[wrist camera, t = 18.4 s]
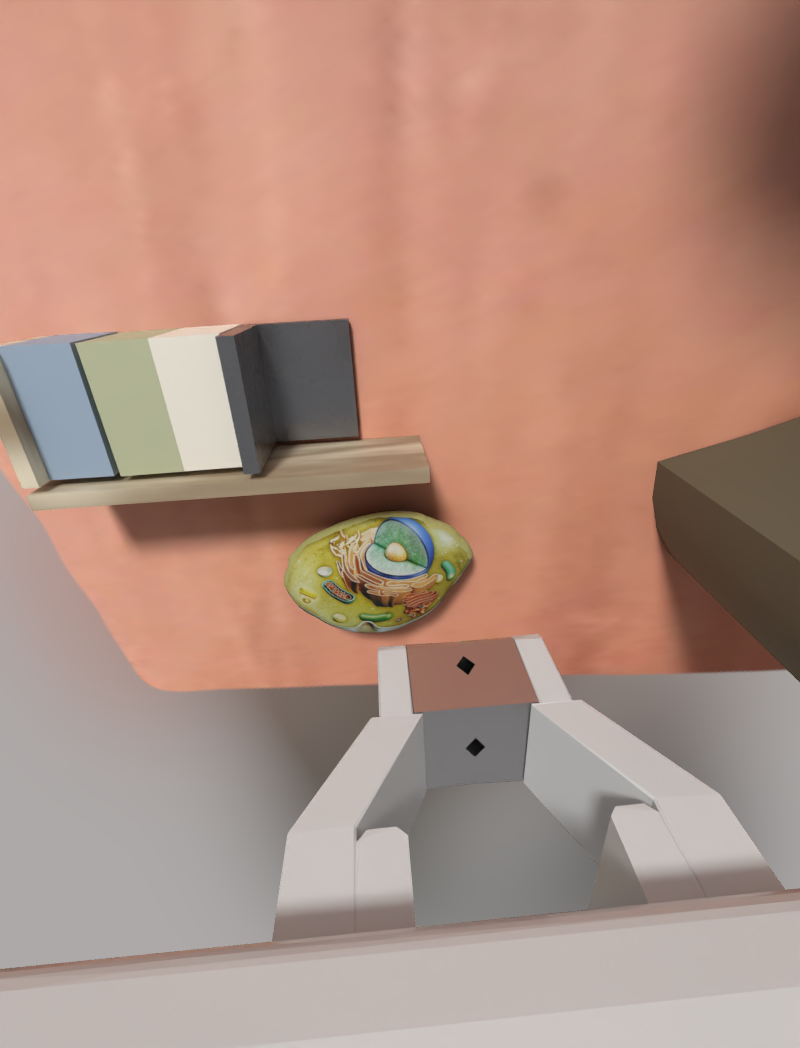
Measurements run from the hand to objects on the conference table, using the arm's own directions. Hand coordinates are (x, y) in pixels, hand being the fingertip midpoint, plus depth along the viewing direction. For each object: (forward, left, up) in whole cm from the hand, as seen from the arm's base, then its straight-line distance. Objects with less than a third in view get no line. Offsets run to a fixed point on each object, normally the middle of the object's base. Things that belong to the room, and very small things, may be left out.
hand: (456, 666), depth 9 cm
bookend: (0, -6, -29) cm, 30 cm away
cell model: (+15, -2, -30) cm, 33 cm away
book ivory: (0, -12, -29) cm, 31 cm away
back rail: (0, -11, -29) cm, 31 cm away
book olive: (0, -16, -29) cm, 33 cm away
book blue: (0, -20, -29) cm, 35 cm away
